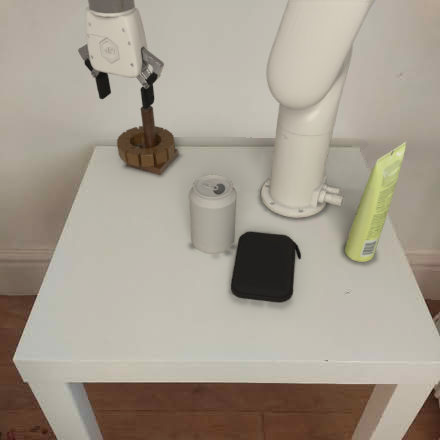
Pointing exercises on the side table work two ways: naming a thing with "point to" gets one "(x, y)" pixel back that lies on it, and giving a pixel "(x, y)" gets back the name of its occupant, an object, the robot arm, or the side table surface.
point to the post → (151, 142)
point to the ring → (148, 155)
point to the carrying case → (264, 267)
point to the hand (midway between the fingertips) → (126, 101)
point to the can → (212, 213)
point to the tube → (374, 206)
